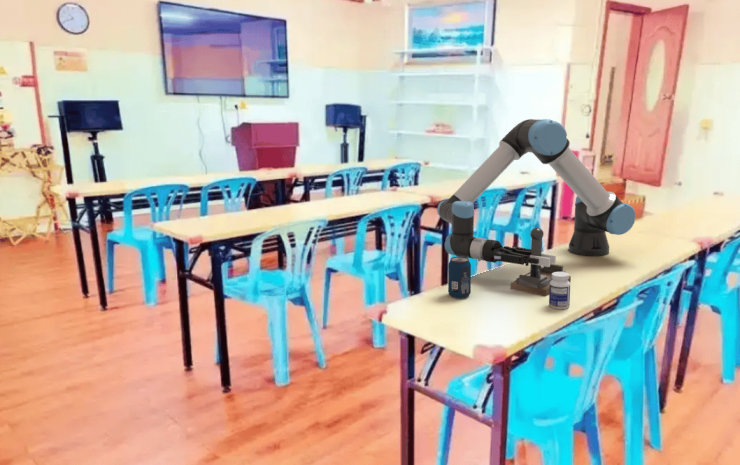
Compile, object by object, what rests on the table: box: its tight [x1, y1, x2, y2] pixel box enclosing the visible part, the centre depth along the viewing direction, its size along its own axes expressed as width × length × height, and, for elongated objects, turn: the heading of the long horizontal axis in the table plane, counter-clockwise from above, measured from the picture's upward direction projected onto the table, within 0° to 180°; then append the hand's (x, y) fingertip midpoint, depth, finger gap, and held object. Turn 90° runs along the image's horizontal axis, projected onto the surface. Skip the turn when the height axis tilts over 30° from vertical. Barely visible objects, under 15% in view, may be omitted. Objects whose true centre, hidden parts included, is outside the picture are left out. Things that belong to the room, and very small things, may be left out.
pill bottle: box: [548, 272, 571, 310], centre depth 162 cm, size 6×6×10 cm
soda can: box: [447, 256, 472, 300], centre depth 173 cm, size 7×7×12 cm
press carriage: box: [526, 227, 547, 283], centre depth 177 cm, size 5×6×18 cm
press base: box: [510, 264, 572, 297], centre depth 182 cm, size 18×13×5 cm
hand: (552, 261), depth 173 cm, fingers closed on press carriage, 3 cm apart
